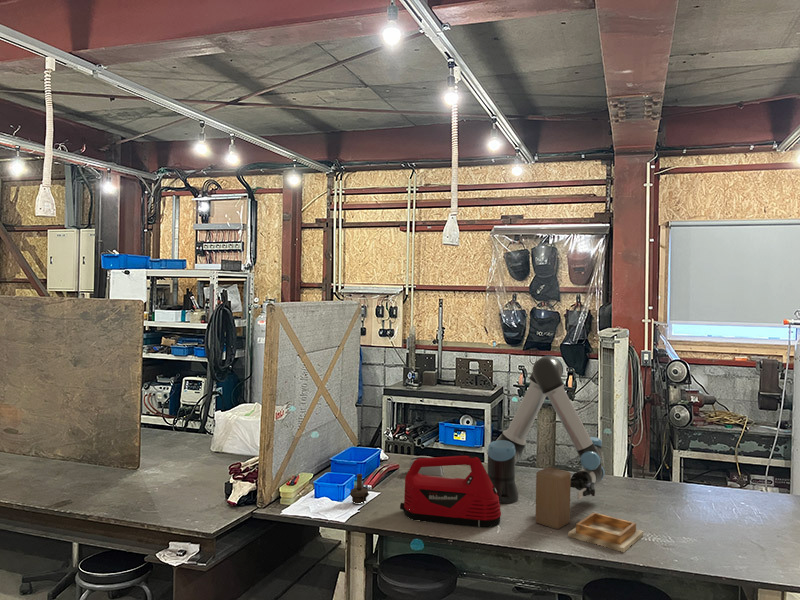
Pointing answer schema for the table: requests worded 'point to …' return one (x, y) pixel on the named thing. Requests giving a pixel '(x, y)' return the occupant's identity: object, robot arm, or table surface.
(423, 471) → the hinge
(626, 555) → the table surface
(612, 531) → the wooden tray
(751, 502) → the table surface
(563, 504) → the block
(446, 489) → the power tool
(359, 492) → the industrial component
